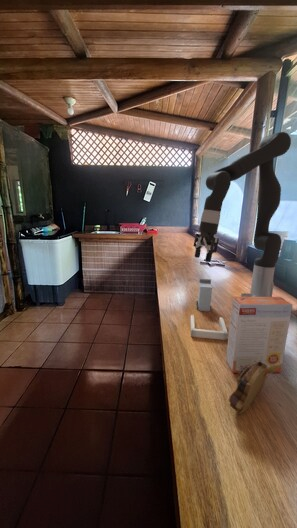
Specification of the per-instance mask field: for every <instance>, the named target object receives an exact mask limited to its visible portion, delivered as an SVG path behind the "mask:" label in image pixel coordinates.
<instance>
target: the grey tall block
mask: <svg viewBox="0 0 297 528" xmlns="http://www.w3.org/2000/svg"><path fill="white" fill-rule="evenodd" d="M212 285H213V284H212V279H210V278H199V283H198V296H197V300H196V310H198V311H201V312H203V311H204V312H210V311H211V312H212V305H211V303H212V293H213V286H212Z"/></svg>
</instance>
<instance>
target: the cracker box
mask: <svg viewBox="0 0 297 528" xmlns="http://www.w3.org/2000/svg"><path fill="white" fill-rule="evenodd" d="M292 309H293V303H291V302H289V301H288V300H286V299H285V298H283V297H282V296H272V297H241V296H232V299H231V308H230V316H229V318H230V319H229V326H228V338H227V347H226V357H225V362H226V364H227V365H228V367H229V369H230V371H231V372H232V374H239V372H240V371H241V370H242V369H246V368H247V367H250V366H251V365H255V364H258V362H262V363H264V364H266V365H267V370H266V371H267V372H268V374H269V373H275V374H276V373H282V367H283V362H284V357H285V356H284V355H285V351H286V343H287V339H288V333H289V326H290V321H291V316H292V315H291V314H292Z"/></svg>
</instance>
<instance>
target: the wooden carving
mask: <svg viewBox="0 0 297 528" xmlns="http://www.w3.org/2000/svg"><path fill="white" fill-rule="evenodd" d="M266 370H267V365H266V364H264V363H262V362H258V364H255V365H251V366H250V367H247V368H246V369H242V370H241V371H240V372H239V373H238V377H237V385H236V389H235V390H234V392H233V393H231V395H230V396H229V398H228V402H229V403H230V404H229V406H230V407H231V409H233V410H234V411H236V412H237V413H238V414H239V415H242V414H243V413H244V412H246V411H247V410H248V409H249V408H250V406H251V405H252V404H253V402H254V401H255V399H256V398H257V396H258V394H259V392H260V391H261V390H262V389H263V387H264V385H265V383H266V380H267V377H268V375H269V373H268V372H267V371H266Z"/></svg>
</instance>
